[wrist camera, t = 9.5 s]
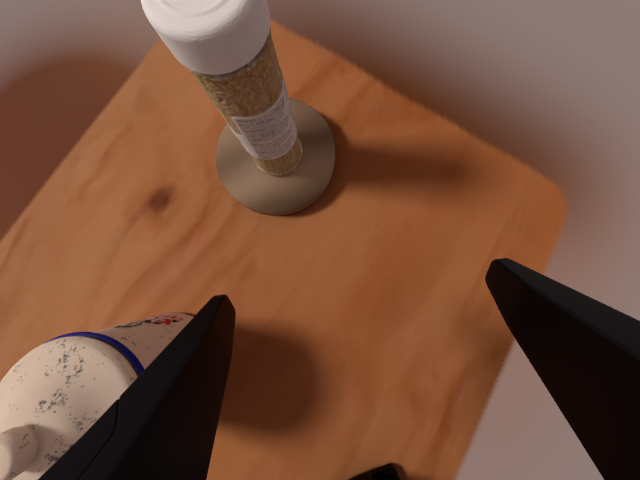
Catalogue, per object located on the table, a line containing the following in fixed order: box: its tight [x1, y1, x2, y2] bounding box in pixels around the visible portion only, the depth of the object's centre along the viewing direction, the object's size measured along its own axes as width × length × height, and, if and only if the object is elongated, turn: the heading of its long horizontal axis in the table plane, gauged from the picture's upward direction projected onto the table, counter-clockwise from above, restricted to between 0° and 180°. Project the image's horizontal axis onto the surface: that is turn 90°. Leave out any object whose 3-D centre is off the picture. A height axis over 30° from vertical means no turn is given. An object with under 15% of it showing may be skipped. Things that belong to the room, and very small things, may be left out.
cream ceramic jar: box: [0, 313, 193, 480], centre depth 16 cm, size 12×9×12 cm
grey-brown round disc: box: [216, 98, 335, 216], centre depth 23 cm, size 11×11×2 cm
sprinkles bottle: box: [141, 0, 303, 176], centre depth 15 cm, size 5×5×13 cm
